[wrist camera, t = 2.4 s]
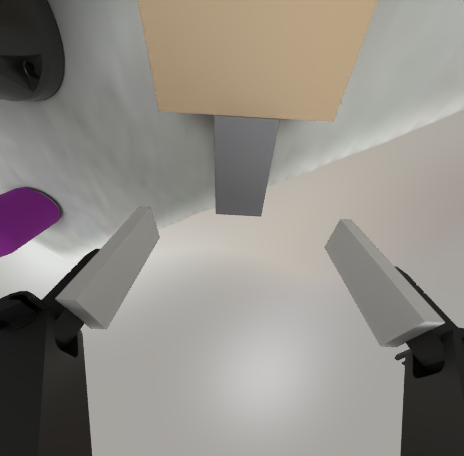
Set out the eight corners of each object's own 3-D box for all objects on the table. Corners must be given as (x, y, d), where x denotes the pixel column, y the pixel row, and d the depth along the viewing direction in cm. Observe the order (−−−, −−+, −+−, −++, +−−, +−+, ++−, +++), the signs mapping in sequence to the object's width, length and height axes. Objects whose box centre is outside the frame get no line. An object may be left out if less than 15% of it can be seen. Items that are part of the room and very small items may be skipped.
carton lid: (179, 204, 19) (175, 211, 18) (92, -279, 6) (56, -373, 5) (297, 210, 19) (301, 218, 18) (460, -253, 6) (515, -339, 5)
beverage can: (61, 225, 36) (-2, 272, 26) (16, 205, 33) (-73, 249, 23) (67, 202, 32) (-4, 247, 22) (16, 176, 29) (-90, 216, 19)
